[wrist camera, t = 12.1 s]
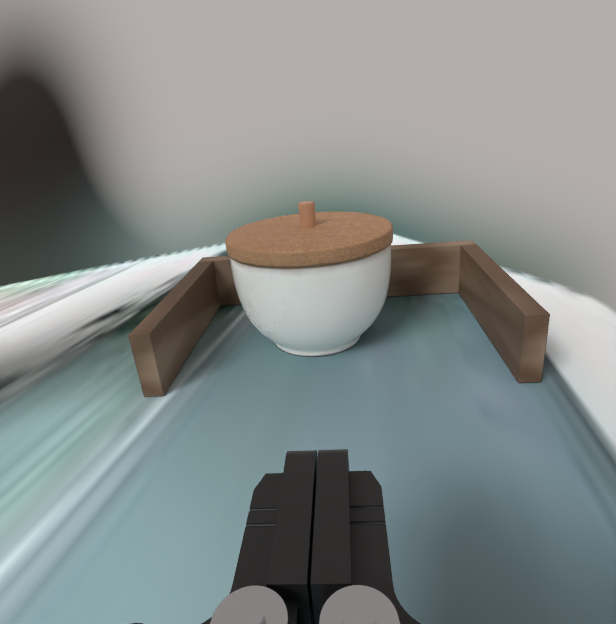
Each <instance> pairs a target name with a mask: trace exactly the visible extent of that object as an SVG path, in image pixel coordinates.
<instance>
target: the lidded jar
mask: <svg viewBox="0 0 616 624" xmlns="http://www.w3.org/2000/svg"><path fill="white" fill-rule="evenodd" d="M298 207H299V214H293V215H286V216H280V217H274V218H269V219H265V220H260V221H256V222H253V223H250V224H247V225H244V226H242V227H239V228H238V229H236V230H234V231H232V232H231V233H230V234H229V235H228V236H227V238H226V241H225V242H226V249H227V253H228V256H229V257H230V262H231V269H232V274H233V279H234V284H235V287H236V290H237V294H238V297H239V299H240V302H241V304H242V307H243V309H244V311H245V313H246V315H247V316H248V318H249V320H250V321H251V322H252V324H253V325H254V326H255V327H256V328H257V329H258V330H259V331H260V332H261V333H262V334H263V335H265V336H266V337H267V338H269V339H270V340H272V341H274V342H275V344H276V346H277V347H278V348H279V349H281V350H282V351H284V352H286V353H289V354H293V355H298V356H325V355H330V354H335V353H338V352H342V351H344V350H346V349H348V348H350V347H352V346H353V345H355V344H356V343H357V342H358V341H359V339H360V336H361V335H362V334H363V333H364V332H365V331H366V330H367V329H368V328H369V327H370V326H371V325H372V324H373V322H374V321H375V320H376V318H377V317H378V315H379V313H380V311H381V310H382V307H383V305H384V302H385V300H386V296H387V292H388V288H389V281H390V273H391V243H392V240H393V226H392V224H391V223H390V222H389V221H388V220H387V219H385V218H383V217H379V216H376V215H372V214H366V213H358V212H315V205H314V202H313V201H306V202H300V203H298Z"/></svg>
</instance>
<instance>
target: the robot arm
mask: <svg viewBox="0 0 616 624" xmlns="http://www.w3.org/2000/svg"><path fill="white" fill-rule="evenodd" d="M133 624H142V623H133ZM202 624H421V623H419V622H417V621H416V620H415V619H413V618H412V617H411V616H410V615H409V614H408V613H407V612H406V611H405V610H404V609H403V608H402V606H401V605H400V603H399V601H398V600H397V598H396V595H395V592H394V588H393V582H392V573H391V565H390V556H389V548H388V539H387V531H386V524H385V514H384V506H383V497H382V489H381V485H380V484H379V483H378V481H377V480H376V478H375V477H374V475H373V474H372V472H371V471H349V460H348V449H344V450H319V451H318V456H317V451H316V450H315V451H287V453H286V459H285V465H284V472H283V473H273V474H265V476H264V477H263V478H262V480H261V481H260V482H259V484H258V485H257V486H256V488H255V489H254V492H253V496H252V501H251V505H250V512H249V514H248V518H247V523H246V527H245V532H244V536H243V541H242V545H241V549H240V554H239V558H238V563H237V567H236V572H235V576H234V581H233V585H232V588H231V592H230V594H229V595H228V596H227V597H226V598H225V599H224V600H223V601H222V602H221V603H220V604H219V605H218V607H217V608H216V610H215V612H214V614H213V616H212V617H211V618H210V619H208V620H207V621H205V622H204V623H202Z"/></svg>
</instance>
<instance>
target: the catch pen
mask: <svg viewBox="0 0 616 624" xmlns="http://www.w3.org/2000/svg"><path fill="white" fill-rule="evenodd" d="M443 293H459V294H460V296H461V297H462V299H463V300H464V302H465V303H466V305H467V306H468V308H469V309H470V311H471V312H472V314H473V315H474V317H475V318H476V320H477V321H478V323H479V324H480V326H481V327H482V329H483V330H484V332H485V333H486V335H487V336H488V338H489V339H490V341H491V342H492V344H493V345H494V347H495V348H496V350H497V351H498V353H499V354H500V356H501V357H502V359H503V360H504V362H505V363H506V365H507V366H508V368H509V370H510V371H511V373H512V374H513V376H514V377H515V379H516V380H517V382H518V383H527V382H541V380H542V372H543V364H544V356H545V348H546V341H547V333H548V325H549V317H550V314H549V313H548V312H547V311H546V310H545V309H544V308H543V307H542V306H540V305H539V304H538V303H537V302H536V301H535V300H534V299H533V298H532V297H531V296H530V295H529V294H528V293H527V292H526V291H525V290H524V289H523V288H522V287H521V286H519V285H518V284H517V283H516V282H515V281H514V280H513V279H512V278H511V277H510V276H509V275H508V274H507V273H506V272H505V271H504V270H503V269H502V268H501V267H500V266H498V265H497V264H496V263H495V262H494V261H493V260H492V259H491V258H490V257H489V256H488V255H487V254H486V253H485V252H484V251H483V250H482V249H481V248H480V247H479V246H477V245H476V244H475V243H474V242H473V241H456V242H440V243H424V244H409V245H393V246H391V273H390V281H389V288H388V292H387V296H386V297H388V296H406V295H425V294H443ZM222 305H241V302H240V299H239V297H238V294H237V290H236V287H235V284H234V279H233V274H232V269H231V262H230V257H229V256H221V257H206V258H202V259H201V260H200V261H199V262H198V263H197V264H196V265H195V266H194V267H193V268H192V269H191V270H190V271H189V272H188V274H187V275H186V276H185V277H184V278H183V279H182V280H181V281H180V282H179V283H178V284H177V285H176V286H175V287H174V288H173V289H172V290H171V291H170V292H169V293H168V294H167V295H166V296H165V297H164V299H163V300H162V301H161V302H160V303H159V304H158V305H157V306H156V307H155V308H154V309H153V310H152V311H151V312H150V313H149V314H148V315H147V316H146V317H145V318H144V319H143V320H142V321H141V322H140V324H139V325H138V326H137V327H136V328H135V329H134V330H133V331H132V332H131V333H130V334H129V335H128V336H129V340H130V344H131V348H132V352H133V355H134V359H135V363H136V367H137V371H138V375H139V379H140V383H141V387H142V391H143V394H144V397H147V396H164V395H165V393H166V392H167V390H168V388H169V387H170V385H171V384H172V382H173V380H174V379H175V377H176V376H177V374H178V372H179V371H180V369H181V368H182V366H183V364H184V363H185V361H186V360H187V358H188V357H189V355H190V353H191V352H192V350H193V349H194V347H195V345H196V344H197V342H198V341H199V339H200V337H201V336H202V334H203V333H204V331H205V329H206V328H207V326H208V325H209V323H210V321H211V320H212V318H213V317H214V315H215V313H216V312H217V310H218V309H219V307H220V306H222Z"/></svg>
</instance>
